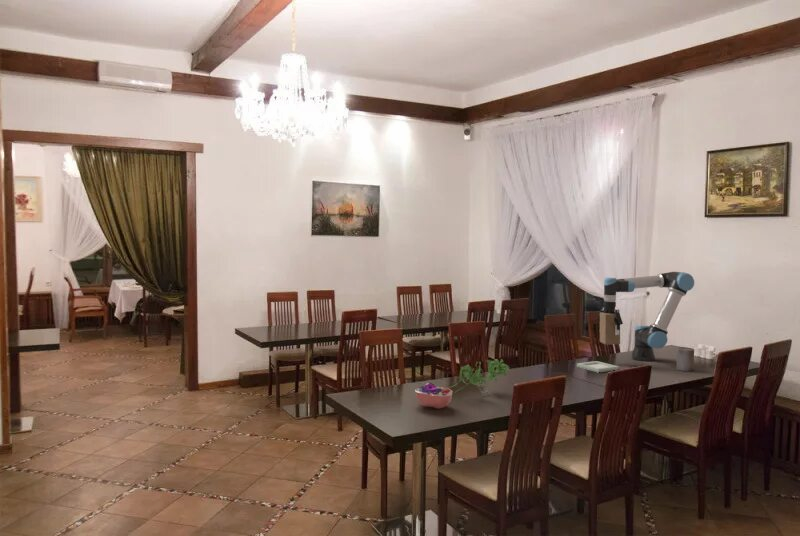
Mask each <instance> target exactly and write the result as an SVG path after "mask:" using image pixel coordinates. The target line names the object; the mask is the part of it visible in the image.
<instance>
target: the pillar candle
mask: <svg viewBox="0 0 800 536" xmlns="http://www.w3.org/2000/svg"><path fill="white" fill-rule="evenodd" d="M676 348H677V349H676V350H677V352H676V353H677V354H676V370H677V371H682V372H689V371H690V372H693V371H694V365H695V362H694V361H695V349H694V348H691V347H687V346H685V347H684V346H683V347H681V346H680V347H676Z"/></svg>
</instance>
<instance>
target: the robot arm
mask: <svg viewBox="0 0 800 536" xmlns="http://www.w3.org/2000/svg"><path fill="white" fill-rule="evenodd" d="M603 281H604V282H603V286H604V287H603V307H600V310H599V313H598V315H597V318H596V321H597V322H598V324H599V325H598V326H599V328H600V313H601V312H604V313H610V314H616V317H617V319H616V318H615V317H614V321H615V323H616V325H615V335H619V330H620V331H621V325H623V324H624V322H623V319H622V317H621V314H620V309H616V307H617V302H616V301H617V293H632V292H634V291H635V290H636V289H643V288H645V289H646V288H654V287H656V288H657V287H658V288H662V289H663V288H667V289H668V293H667V294H666V297H665V300H664V301H663V302H662V306H661V307H660V310H659V311H658V313H657V316H656V319H655V320H654V322H653V323H652V324H650V325H635V328H634V347H633V350H632V353H631V359H633V360H636V361H641V360H643V361H642V362H652V361H656V356H655V353H654V352H655V351H654V349H657V350H658V349H662V348H664V347H665V346H666V345H667V343H668V336H667V335H668V333H669V332H668V327H669V325H670V323H671V320H672V319H673V317H674V314H675V312H676V310H677V309H678V306H679V304H680V302H681V300H682V297H685V296H686V295H687V293H688V292H689V291H691V290H692V289H693V288H694V286H695V279H694V277H693V276H692V274H690V273H687V272H684V271H683V272H680V271H670V272H665V273H663V272H662V273H658V274H657V275H648V276H638V277H628V278H627V277H625V278H616V277H605V278H604V280H603Z"/></svg>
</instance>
